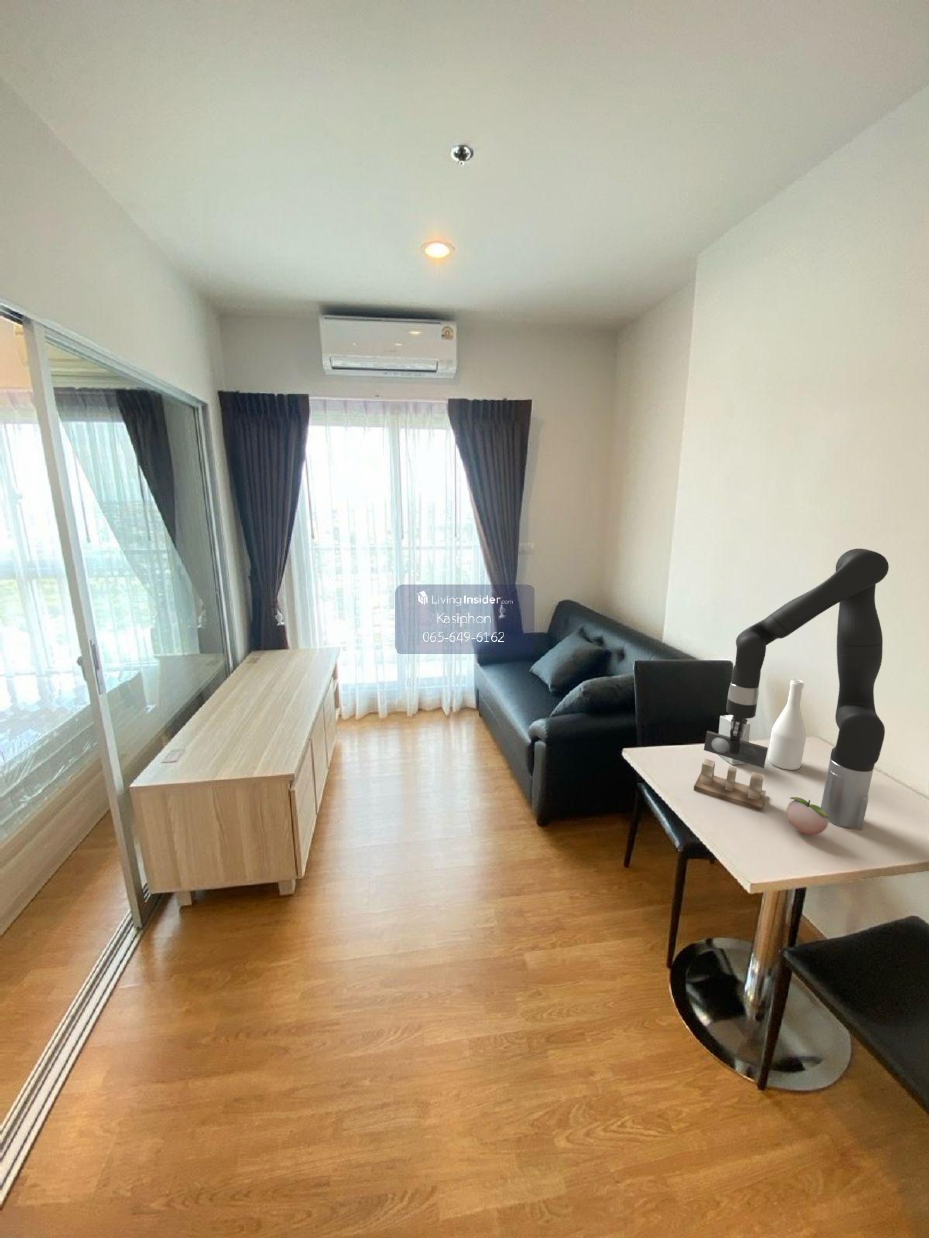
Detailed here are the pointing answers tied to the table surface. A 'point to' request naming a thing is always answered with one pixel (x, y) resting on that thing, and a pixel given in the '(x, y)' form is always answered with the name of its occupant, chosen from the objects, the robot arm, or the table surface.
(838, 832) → the table surface
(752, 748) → the dark flat rectangular bar
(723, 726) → the skincare box
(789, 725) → the wine bottle
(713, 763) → the wooden peg rack
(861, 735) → the robot arm
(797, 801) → the decorative fruit
